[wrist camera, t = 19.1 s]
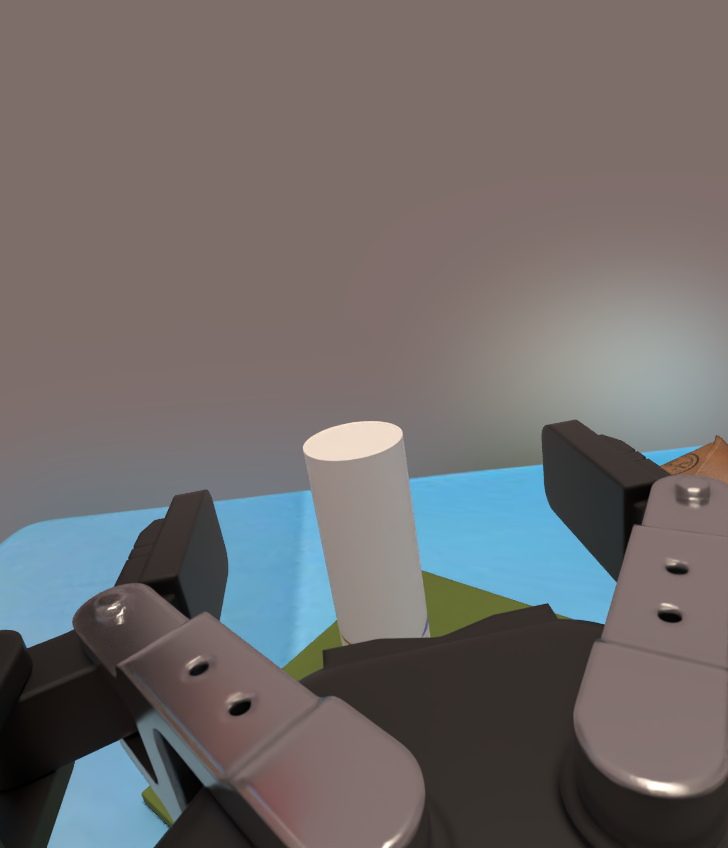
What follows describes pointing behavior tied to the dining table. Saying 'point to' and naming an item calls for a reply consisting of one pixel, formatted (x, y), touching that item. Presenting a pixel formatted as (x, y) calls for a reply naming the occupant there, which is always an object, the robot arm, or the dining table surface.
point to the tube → (368, 530)
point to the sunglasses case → (703, 462)
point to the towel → (446, 614)
